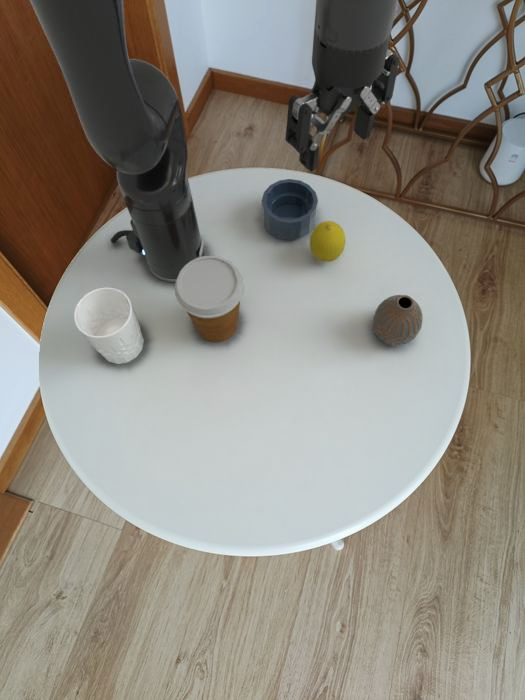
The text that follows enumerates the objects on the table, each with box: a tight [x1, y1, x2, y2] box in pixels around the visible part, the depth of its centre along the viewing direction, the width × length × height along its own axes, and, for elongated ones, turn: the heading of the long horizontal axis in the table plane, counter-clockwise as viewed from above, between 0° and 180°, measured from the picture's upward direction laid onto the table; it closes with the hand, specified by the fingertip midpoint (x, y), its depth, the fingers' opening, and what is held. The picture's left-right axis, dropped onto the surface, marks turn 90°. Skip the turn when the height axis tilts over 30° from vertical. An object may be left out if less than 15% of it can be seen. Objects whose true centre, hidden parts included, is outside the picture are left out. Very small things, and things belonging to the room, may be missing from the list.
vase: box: [372, 294, 424, 347], centre depth 77 cm, size 7×7×9 cm
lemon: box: [309, 220, 346, 263], centre depth 84 cm, size 6×6×8 cm
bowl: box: [261, 178, 319, 241], centre depth 89 cm, size 9×9×5 cm
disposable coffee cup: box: [174, 255, 245, 343], centre depth 77 cm, size 10×10×12 cm
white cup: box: [73, 286, 145, 365], centre depth 77 cm, size 8×8×10 cm
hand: (335, 150), depth 66 cm, fingers open, 8 cm apart
